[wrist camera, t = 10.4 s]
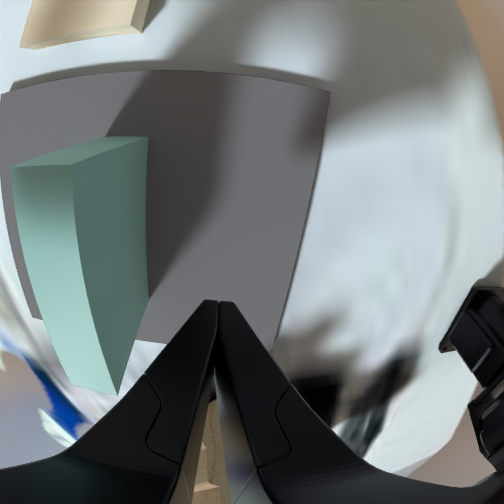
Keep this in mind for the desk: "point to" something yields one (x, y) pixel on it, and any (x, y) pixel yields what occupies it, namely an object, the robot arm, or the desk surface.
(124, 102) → the mat
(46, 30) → the birch slab
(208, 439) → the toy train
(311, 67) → the desk surface
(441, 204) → the desk surface
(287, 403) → the robot arm
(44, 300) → the teal slab
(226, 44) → the desk surface
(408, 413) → the desk surface
